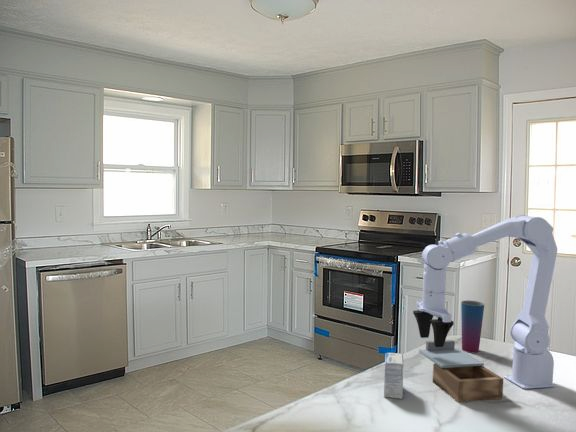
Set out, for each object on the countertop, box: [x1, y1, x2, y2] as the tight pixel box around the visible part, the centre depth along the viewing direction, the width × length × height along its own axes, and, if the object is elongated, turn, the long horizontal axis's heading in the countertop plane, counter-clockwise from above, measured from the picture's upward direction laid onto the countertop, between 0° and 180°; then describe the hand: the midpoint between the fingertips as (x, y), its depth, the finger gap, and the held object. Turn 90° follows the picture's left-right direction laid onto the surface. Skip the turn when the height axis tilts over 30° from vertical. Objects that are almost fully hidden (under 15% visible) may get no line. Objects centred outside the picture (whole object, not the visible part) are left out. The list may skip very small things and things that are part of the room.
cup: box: [460, 299, 485, 354], centre depth 157 cm, size 7×7×15 cm
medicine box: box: [383, 352, 404, 400], centre depth 124 cm, size 8×4×9 cm, turn 168°
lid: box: [418, 339, 485, 368], centre depth 134 cm, size 12×12×3 cm
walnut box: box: [432, 363, 504, 403], centre depth 126 cm, size 12×12×5 cm
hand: (431, 341), depth 132 cm, fingers open, 7 cm apart
